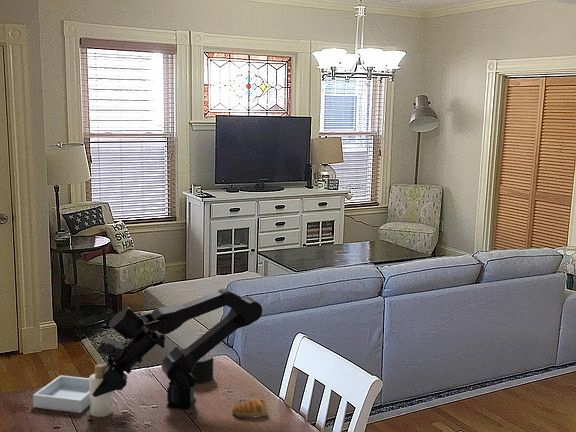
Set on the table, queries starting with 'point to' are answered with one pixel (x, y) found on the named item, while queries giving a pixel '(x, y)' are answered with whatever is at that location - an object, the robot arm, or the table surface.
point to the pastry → (251, 408)
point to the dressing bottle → (103, 402)
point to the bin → (64, 394)
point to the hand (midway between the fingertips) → (95, 388)
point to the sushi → (203, 369)
